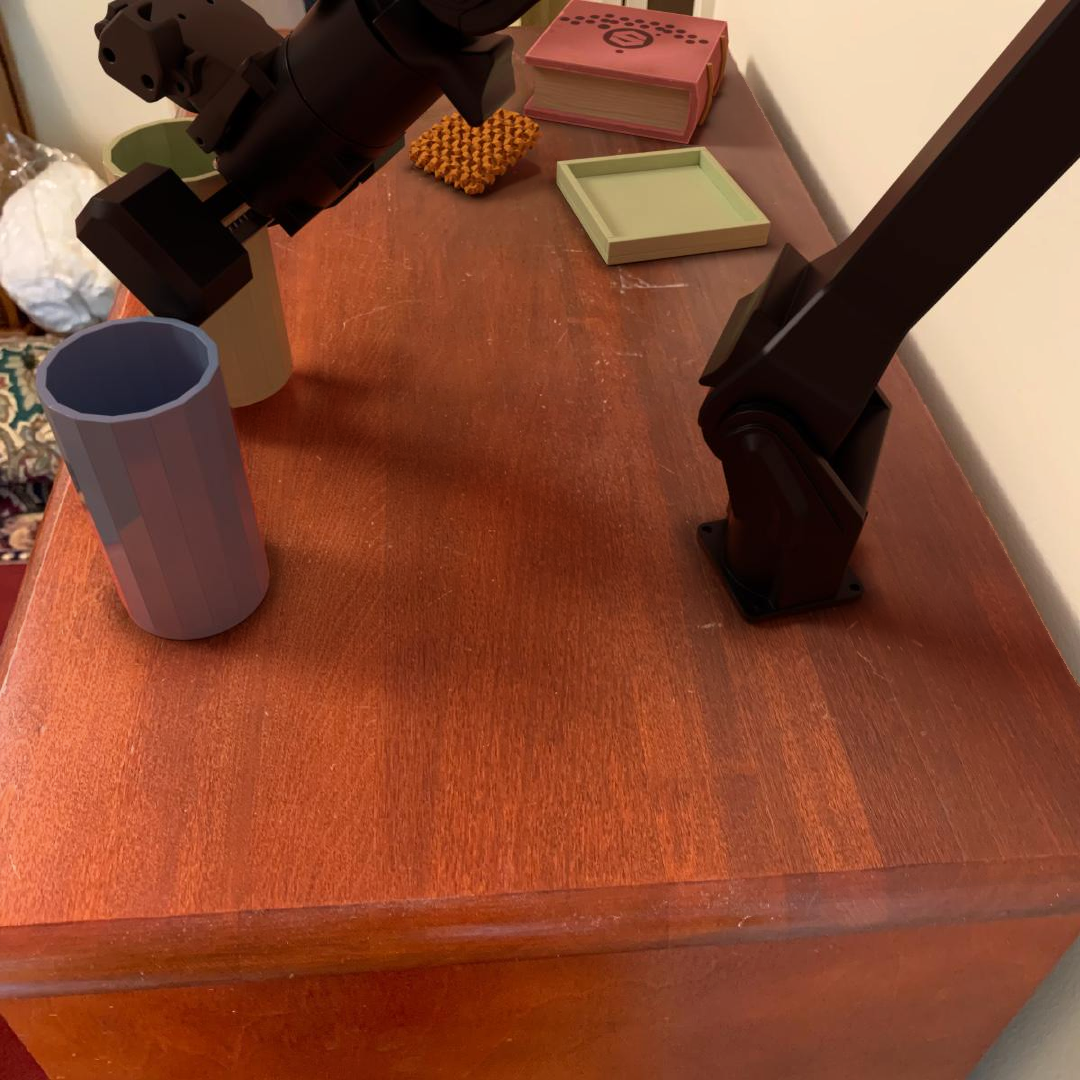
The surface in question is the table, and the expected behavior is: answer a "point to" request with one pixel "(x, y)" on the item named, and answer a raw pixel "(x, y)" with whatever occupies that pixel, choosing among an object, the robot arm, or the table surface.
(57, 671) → the table surface
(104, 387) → the blue cup
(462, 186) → the ornament
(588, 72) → the book
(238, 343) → the green cup
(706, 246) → the green tray
